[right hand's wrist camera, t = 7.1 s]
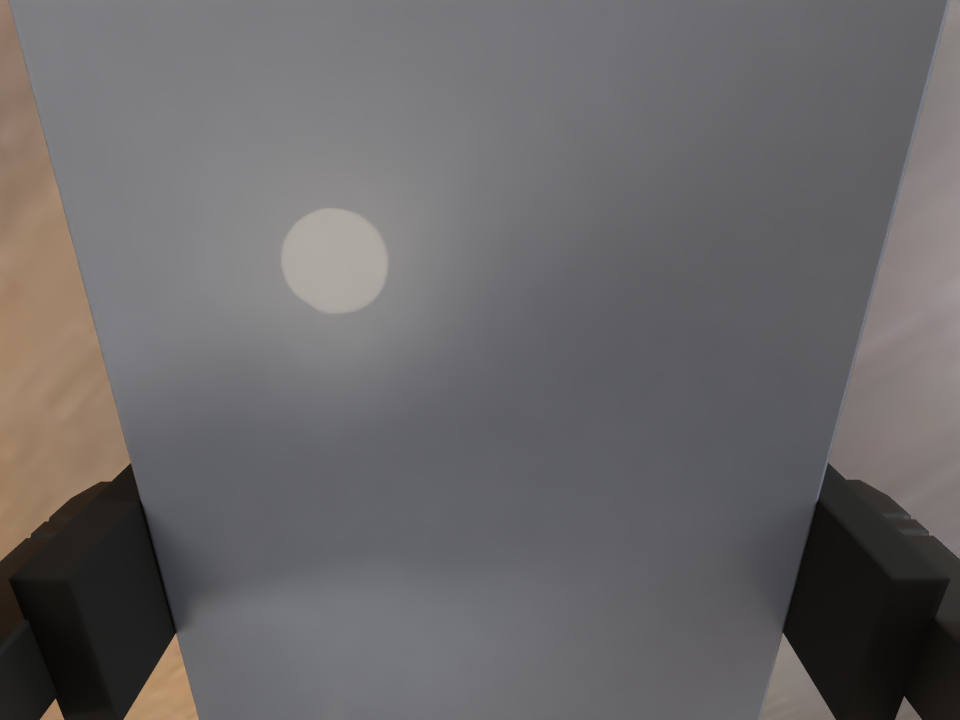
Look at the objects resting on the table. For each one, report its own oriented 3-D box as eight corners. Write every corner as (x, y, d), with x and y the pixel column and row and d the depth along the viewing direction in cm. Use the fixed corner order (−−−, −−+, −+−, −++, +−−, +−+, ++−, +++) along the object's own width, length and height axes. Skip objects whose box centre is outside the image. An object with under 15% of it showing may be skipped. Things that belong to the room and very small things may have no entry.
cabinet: (274, -72, 14) (-123, -475, 5) (683, -71, 14) (1080, -471, 5) (334, 471, 20) (208, 765, 11) (623, 470, 20) (750, 763, 11)
